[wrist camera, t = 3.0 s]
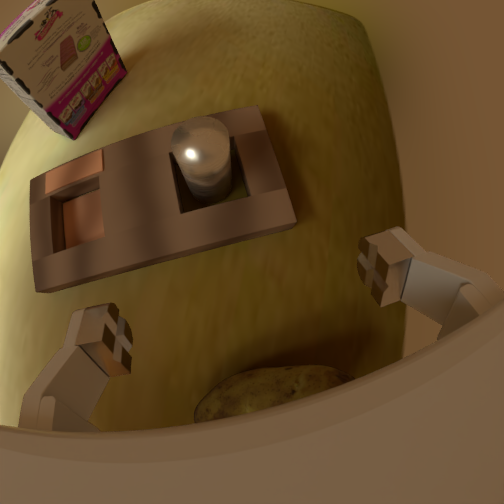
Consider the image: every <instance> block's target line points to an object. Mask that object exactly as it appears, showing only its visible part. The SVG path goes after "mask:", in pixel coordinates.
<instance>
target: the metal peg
mask: <svg viewBox="0 0 504 504" xmlns="http://www.w3.org/2000/svg"><path fill="white" fill-rule="evenodd" d="M171 149H172V152H173V154H174V156H175V158H176V161H177V163H178V165H179V167H180V169H181V172H182V174H183V176H184V178H185V180H186V183H187V185H188V187H189V189H190V191H191V194H192V195H193V197H194V198H195V199H196V200H198V201H199V202H202V203H205V204H214V203H218V202H220V201H222V200H224V199H225V198H226V197H227V196H228V195H229V193H230V191H231V189H232V171H231V156H230V141H229V133H228V130H227V128H226V127H225V125H224V124H223V123H222V122H220V121H219V120H217V119H215V118H212V117H207V116H199V117H194V118H191V119H189V120H187V121H185V122H183V123H182V124H181V125H179V126H178V128H177V129H176V130H175V131H174V133H173V135H172V139H171Z"/></svg>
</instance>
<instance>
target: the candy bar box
mask: <svg viewBox="0 0 504 504" xmlns="http://www.w3.org/2000/svg"><path fill="white" fill-rule="evenodd" d="M126 73H127V70H126V68H125V66H124V64H123V62H122V60H121V58H120V55H119V53H118V51H117V49H116V47H115V45H114V43H113V41H112V39H111V36H110V34H109V32H108V30H107V28H106V25H105V23H104V21H103V18H102V17H101V14H100V12H99V10H98V7H97V5H96V3H95V1H94V0H35V1H34V2H33V3H32V4H31V5H30V6H29V7H28V8H26V9H25V10H24V11H23V12H22V13H21V14H20V15H19V16H18V17H17V18H16V19H15V20H14V21H13V22H12V23H11V24H10V25H9V26H8V27H7V28H6V29H5V30H4V31H3V32H2V33H1V34H0V78H1V79H2V80H3V81H4V82H5V83H6V84H7V86H8V87H9V88H10V89H11V90H12V91H13V92H14V93H15V94H16V95H17V96H18V97H19V98H20V99H21V100H22V101H23V102H24V103H25V104H26V105H27V106H28V107H29V108H30V109H31V110H32V111H33V112H34V113H35V114H36V115H37V116H38V117H39V118H40V119H41V120H42V121H43V122H44V123H45V124H46V125H47V126H48V127H50V128H51V129H52V130H53V131H54V132H57V133H59V134H62V135H64V136H66V137H68V138H70V139H72V140H75V139H76V138H77V136H78V135H79V133H80V132H81V130H82V129H83V128H84V126H85V125H86V123H87V122H88V121H89V119H90V118H91V116H92V115H93V114H94V112H95V111H96V110H97V108H98V107H99V106H100V104H101V103H102V102H103V101H104V99H105V98H106V97H107V96H108V94H109V93H110V92H111V91H112V89H113V88H114V87H115V86H116V85H117V84H118V82H119V81H120V80H121V79H122V78H123V77H124V76H125V74H126Z"/></svg>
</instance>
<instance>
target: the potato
mask: <svg viewBox="0 0 504 504" xmlns="http://www.w3.org/2000/svg"><path fill="white" fill-rule="evenodd" d="M352 380H355V378H353V377H352V376H350V375H349V374H347V373H345V372H343V371H341V370H339V369H336V368H333V367H330V366H324V365H317V364H314V365H292V366H285V367H277V368H274V367H264V368H257V369H253V370H249V371H245V372H242V373H239V374H236V375H234V376H231V377H229V378H227V379H225V380H223V381H222V382H220V383H219V384H218V385H217V386H215V388H214V389H213V390H212V391H211V392H210V393H208V394H207V395H206V396H205V397H204V398H203V399H202V400H201V401H200V403H199V404H198V405H197V407H196V409H195V412H194V421H195V423H201V422H207V421H212V420H218V419H223V418H228V417H232V416H237V415H242V414H246V413H250V412H254V411H258V410H262V409H266V408H270V407H274V406H277V405H281V404H284V403H288V402H291V401H295V400H298V399H301V398H304V397H307V396H311V395H314V394H317V393H320V392H323V391H325V390H328V389H331V388H334V387H337V386H339V385H342V384H345V383H347V382H350V381H352Z"/></svg>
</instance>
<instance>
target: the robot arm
mask: <svg viewBox="0 0 504 504" xmlns="http://www.w3.org/2000/svg"><path fill="white" fill-rule="evenodd" d="M358 248H359V250H360V251H361V254H360V255H359V257H358V258H357V270H358V274H359V277H360V279H361V281H362V282H363V284H364V285H366V286H368V287H370V288H371V295H372V296H373V298H374V299H375V301H376V302H377V303H378V305H379V306H380V307H382V306H385V305H388V304H391V303H394V302H396V301H399V300H401V301H402V302H404V303H405V304H407V305H409V306H410V307H412V308H414V309H416V310H417V311H419V312H421V313H422V314H424V315H426V316H427V317H429V318H431V319H432V320H434V321H436V322H437V323H439V324H441V325H442V328H441V330H440V332H439V335H438V337H437V340H438V341H436V342H434V343H432V344H431V345H429V346H427V347H425V348H423V349H421V350H419V351H417V352H415V353H413V354H411V355H409V356H407V357H405V358H403V359H401V360H399V361H397V362H395V363H392V364H390V365H388V366H386V367H384V368H381V369H379V370H377V371H374V372H372V373H370V374H367V375H365V376H362V377H360V378H357V379H355V380H352V381H350V382H347V383H345V384H342V385H339V386H337V387H334V388H331V389H328V390H325V391H323V392H320V393H317V394H314V395H311V396H307V397H304V398H301V399H298V400H295V401H291V402H288V403H284V404H281V405H277V406H274V407H270V408H266V409H262V410H258V411H254V412H250V413H246V414H242V415H237V416H232V417H228V418H223V419H218V420H212V421H207V422H201V423H195V424H188V425H181V426H174V427H166V428H156V429H146V430H133V431H114V432H100V430H99V429H98V428H97V427H96V426H94V425H92V424H91V423H89V422H88V420H89V418H90V416H91V414H92V412H93V410H94V408H95V406H96V404H97V402H98V400H99V398H100V396H101V394H102V392H103V390H104V388H105V387H106V385H107V383H108V381H109V379H110V378H109V377H115V376H121V375H126V374H131V360H132V357H131V356H130V354H129V353H128V352H129V350H130V349H131V347H132V345H133V337H132V332H131V329H130V326H129V324H128V323H127V321H126V320H125V319H124V318H122V317H120V316H119V309H118V308H117V306H116V305H115V304H114V303H106V304H102V305H97V306H92V307H87V308H84V309H79V310H75V311H74V312H73V313H72V317H71V320H70V323H69V327H68V331H67V334H66V338H65V342H64V346H63V348H61V349H59V350H58V351H57V353H56V354H55V355H54V356H53V358H52V359H51V360H50V361H49V363H48V364H47V365H46V366H45V368H44V369H43V370H42V372H41V373H40V374H39V376H38V377H37V378H36V380H35V381H34V382H33V384H32V385H31V386H30V388H29V389H28V390H27V392H26V393H25V394H24V397H23V402H22V407H21V413H20V418H19V425H18V427H11V426H5V425H0V504H504V291H503V290H502V289H501V288H500V287H499V286H498V285H497V284H496V283H495V282H494V281H493V280H492V279H491V277H490V276H489V275H488V274H487V273H485V272H483V271H481V270H478V269H476V268H473V267H470V266H468V265H465V264H463V263H460V262H458V261H455V260H452V259H449V258H447V257H444V256H442V255H439V254H436V253H433V252H430V251H429V252H426V251H425V250H424V249H423V248H422V247H421V246H420V245H419V244H418V243H417V242H416V241H415V240H414V239H413V238H412V237H411V236H410V235H408V234H407V233H406V232H405V231H404V230H403V229H402V228H401V227H398V226H397V227H394V228H391V229H388V230H385V231H382V232H379V233H375V234H372V235H368V236H365V237H361V238H360V240H359V244H358Z"/></svg>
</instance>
